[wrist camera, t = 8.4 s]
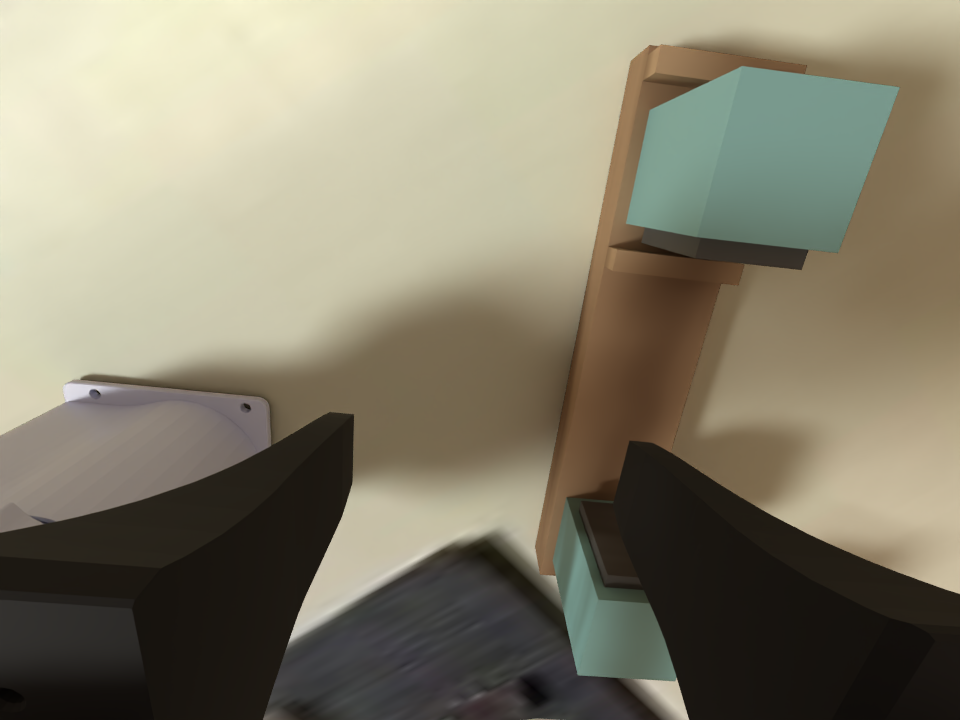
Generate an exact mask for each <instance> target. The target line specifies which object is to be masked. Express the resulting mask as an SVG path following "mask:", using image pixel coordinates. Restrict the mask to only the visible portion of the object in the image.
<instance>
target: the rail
mask: <svg viewBox="0 0 960 720" xmlns="http://www.w3.org/2000/svg"><path fill="white" fill-rule="evenodd" d="M742 66H746V67H753V68H761V69H768V70H776V71H783V72H790V73H798V74H805V70H806V67H807V65H800V64H793V63H786V62H779V61H772V60H765V59H758V58H751V57H744V56H738V55H731V54H724V53H717V52H710V51H703V50H696V49H689V48H682V47H675V46H668V45H660V46H652V45H649V46H648V47H647V48H646V49H645V50H643V51H642V52H641V53H640V54H639V55H637V56H636V57H635V58H634V59H633V60H632V61H631V63H630V68H629V73H628V78H627V83H626V88H625V93H624V99H623V104H622V109H621V114H620V119H619V124H618V129H617V134H616V139H615V144H614V149H613V154H612V159H611V165H610V170H609V175H608V180H607V185H606V190H605V195H604V200H603V205H602V210H601V215H600V220H599V225H598V231H597V236H596V241H595V246H594V251H593V256H592V261H591V266H590V271H589V276H588V281H587V286H586V291H585V296H584V302H583V307H582V312H581V317H580V322H579V327H578V332H577V337H576V342H575V347H574V352H573V357H572V362H571V368H570V373H569V378H568V383H567V388H566V393H565V398H564V403H563V408H562V413H561V418H560V423H559V428H558V434H557V439H556V444H555V449H554V454H553V459H552V464H551V469H550V474H549V479H548V484H547V489H546V494H545V500H544V505H543V510H542V515H541V520H540V525H539V530H538V535H537V540H536V545H535V549H536V554H537V560H538V565H539V571H540V575H554V576H556V578H557V583H558V587H559V592H560V596H561V601H562V605H563V610H564V614H565V619H566V623H567V628H568V633H569V637H570V642H571V646H572V651H573V655H574V660H575V664H576V669H577V673H578V675H585V676H600V677H616V678H631V679H647V680H663V681H675V680H676V674H675V671H674V667H673V664H672V661H671V658H670V655H669V652H668V649H667V646H666V643H665V640H664V637H663V634H662V632H661V629H660V627H659V624H658V622H657V619H656V617H655V615H654V612H653V610H652V608H651V605H650V603H649V601H648V599H647V596H646V594H645V592H644V589H643V587H642V585H641V583H640V580H639V578H638V576H637V573H636V571H635V569H634V567H633V564H632V562H631V559H630V557H629V555H628V552H627V550H626V548H625V545H624V543H623V540H622V537H621V534H620V530H619V527H618V524H617V520H616V516H615V512H614V508H613V502H614V498H615V494H616V490H617V486H618V483H619V479H620V475H621V471H622V467H623V463H624V460H625V456H626V452H627V448H628V444H629V440H630V441H641V442H651V443H654V444H656V445H658V446H660V447H662V448H664V449H665V450H667V451H669V452H670V453H671V449H672V446H673V443H674V439H675V436H676V433H677V429H678V426H679V422H680V419H681V416H682V412H683V409H684V406H685V402H686V399H687V396H688V392H689V389H690V386H691V382H692V379H693V376H694V372H695V369H696V366H697V362H698V359H699V356H700V352H701V349H702V346H703V342H704V339H705V336H706V332H707V329H708V326H709V322H710V319H711V316H712V312H713V309H714V306H715V302H716V299H717V296H718V292H719V289H720V285H721V284H730V285H739V281H740V278H741V275H742V272H743V269H744V264H740V263H734V262H725V261H716V260H707V259H698V258H693V257H689V256H686V255H682V254H679V253H675V252H672V251H668V250H665V249H661V248H658V247H654V246H651V245H647V244H644V243H641V242H642V237H643V233H644V228H645V227H641V226H636V225H630V224H626V221H627V216H628V212H629V207H630V202H631V197H632V193H633V188H634V183H635V178H636V173H637V169H638V164H639V159H640V154H641V150H642V145H643V140H644V135H645V131H646V126H647V121H648V116H649V111H650V110H651V109H653V108H655V107H657V106H659V105H661V104H664V103H666V102H668V101H670V100H672V99H674V98H676V97H678V96H680V95H682V94H685V93H687V92H689V91H691V90H693V89H695V88H697V87H699V86H701V85H704V84H706V83H708V82H710V81H712V80H714V79H716V78H718V77H720V76H723V75H725V74H727V73H729V72H731V71H733V70H735V69H737V68H739V67H742Z"/></svg>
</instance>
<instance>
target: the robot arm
mask: <svg viewBox="0 0 960 720" xmlns="http://www.w3.org/2000/svg"><path fill="white" fill-rule="evenodd" d="M96 390H98V391H99V392H100V394H101V395H99V394H98V393H97V392H96ZM63 393H64V397H65V403H63V404H61V405H59V406H57V407H55V408H53V409H51V410H49V411H48V412H46V413H44V414H42V415H40V416H38V417H36V418H34V419H32V420H30V421H28V422H26V423H24V424H22V425H20V426H18V427H16V428H14V429H12V430H10V431H8V432H6V433H5V434H3V435H1V436H0V720H263V717H264V714H265V711H266V708H267V705H268V702H269V698H270V695H271V692H272V689H273V686H274V683H275V680H276V677H277V674H278V671H279V668H280V665H281V662H282V659H283V656H284V653H285V650H286V647H287V645H288V642H289V639H290V636H291V633H292V630H293V627H294V624H295V621H296V619H297V616H298V613H299V611H300V608H301V606H302V603H303V601H304V598H305V596H306V594H307V592H308V589H309V587H310V585H311V583H312V581H313V579H314V576H315V574H316V572H317V570H318V568H319V566H320V564H321V561H322V559H323V557H324V555H325V553H326V551H327V548H328V546H329V544H330V542H331V540H332V538H333V535H334V533H335V531H336V529H337V527H338V524H339V522H340V520H341V518H342V515H343V512H344V509H345V505H346V502H347V499H348V496H349V492H350V489H351V485H352V478H353V430H354V415H353V414H343V413H332V412H329V413H327V414H325V415H323V416H322V417H320V418H318V419H316V420H315V421H313V422H311V423H310V424H308V425H306V426H305V427H303V428H301V429H300V430H298V431H296V432H295V433H293V434H291V435H290V436H288V437H286V438H284V439H283V440H281V441H279V442H278V443H276V444H274V445H272V446H271V428H270V408H269V404H268V402H267V401H266V400H265V399H263V398H261V397H255V396H245V395H234V394H224V393H213V392H202V391H192V390H181V389H171V388H160V387H150V386H139V385H129V384H118V383H108V382H97V381H87V380H72V381H70V382H68V383H66V384H65V385H64V386H63ZM244 403H246V404H248V405H249V406H250V407H251V409H250V410H249V409H247V408H245V407H244ZM613 508H614V512H615V516H616V520H617V524H618V527H619V530H620V534H621V537H622V540H623V543H624V545H625V548H626V550H627V552H628V555H629V557H630V559H631V562H632V564H633V567H634V569H635V571H636V573H637V576H638V578H639V580H640V583H641V585H642V587H643V589H644V592H645V594H646V596H647V599H648V601H649V603H650V605H651V608H652V610H653V612H654V615H655V617H656V619H657V622H658V624H659V627H660V629H661V632H662V634H663V637H664V640H665V643H666V646H667V649H668V652H669V655H670V658H671V661H672V664H673V667H674V671H675V674H676V677H677V680H678V683H679V686H680V690H681V693H682V697H683V700H684V703H685V707H686V710H687V714H688V717H689V720H960V594H958V593H955V592H951V591H948V590H945V589H942V588H939V587H936V586H933V585H931V584H928V583H925V582H923V581H920V580H917V579H914V578H912V577H909V576H906V575H904V574H901V573H898V572H895V571H893V570H890V569H888V568H885V567H883V566H880V565H878V564H875V563H872V562H870V561H867V560H865V559H863V558H860V557H858V556H856V555H853V554H851V553H849V552H847V551H844V550H842V549H840V548H837V547H835V546H833V545H830V544H828V543H826V542H824V541H822V540H820V539H817V538H815V537H813V536H811V535H809V534H807V533H805V532H803V531H801V530H799V529H797V528H795V527H793V526H791V525H789V524H787V523H785V522H783V521H781V520H780V519H778V518H776V517H774V516H772V515H770V514H768V513H767V512H765V511H763V510H761V509H759V508H758V507H756V506H754V505H753V504H751V503H749V502H748V501H746V500H744V499H743V498H741V497H739V496H737V495H736V494H734V493H733V492H731V491H729V490H728V489H726V488H724V487H723V486H721V485H720V484H718V483H717V482H715V481H713V480H712V479H710V478H709V477H707V476H706V475H704V474H703V473H701V472H700V471H698V470H697V469H695V468H694V467H692V466H690V465H689V464H687V463H686V462H684V461H683V460H681V459H680V458H678V457H677V456H675V455H673V454H672V453H670V452H669V451H667V450H665V449H664V448H662V447H660V446H658V445H656V444H654V443H651V442H641V441H630V440H629V444H628V448H627V452H626V456H625V460H624V463H623V467H622V471H621V475H620V479H619V483H618V486H617V490H616V494H615V498H614V502H613ZM529 720H553V719H529Z"/></svg>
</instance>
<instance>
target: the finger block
mask: <svg viewBox="0 0 960 720" xmlns="http://www.w3.org/2000/svg"><path fill="white" fill-rule="evenodd" d="M899 88H900V87H895V86H887V85H880V84H873V83H865V82H858V81H850V80H843V79H835V78H828V77H820V76H813V75H805V74H798V73H790V72H783V71H776V70H768V69H761V68H753V67H746V66H742V67H739V68H737V69H735V70H733V71H731V72H729V73H727V74H725V75H723V76H720V77H718V78H716V79H714V80H712V81H710V82H708V83H706V84H704V85H701V86H699V87H697V88H695V89H693V90H691V91H689V92H687V93H685V94H682V95H680V96H678V97H676V98H674V99H672V100H670V101H668V102H666V103H664V104H661V105H659V106H657V107H655V108H653V109H651V110H650V111H649V116H648V121H647V126H646V131H645V135H644V140H643V145H642V150H641V154H640V159H639V164H638V169H637V173H636V178H635V183H634V188H633V193H632V197H631V202H630V207H629V212H628V216H627V221H626V224H630V225H636V226H641V227H645V228H644V233H643V237H642V242H641V243H644V244H647V245H651V246H654V247H658V248H661V249H665V250H668V251H672V252H675V253H679V254H682V255H686V256H689V257H693V258H698V259H707V260H716V261H725V262H734V263H743V264H752V265H761V266H770V267H779V268H789V269H798V270H802V267H803V264H804V261H805V259H806V256H807V253H808V250H816V251H824V252H833V253H838V252H839V249H840V247H841V244H842V241H843V238H844V236H845V233H846V230H847V228H848V225H849V222H850V220H851V217H852V214H853V212H854V209H855V206H856V204H857V201H858V198H859V196H860V193H861V190H862V187H863V185H864V182H865V179H866V177H867V174H868V171H869V169H870V166H871V163H872V161H873V158H874V155H875V153H876V150H877V147H878V145H879V142H880V139H881V136H882V134H883V131H884V128H885V126H886V123H887V120H888V118H889V115H890V112H891V110H892V107H893V104H894V102H895V99H896V96H897V94H898V91H899Z"/></svg>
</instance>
